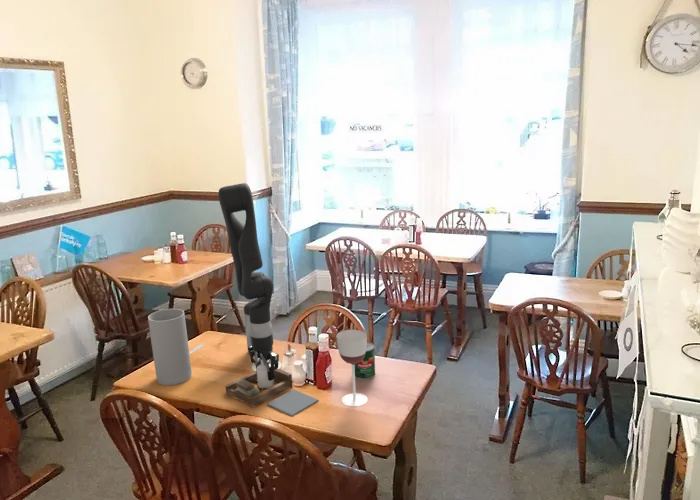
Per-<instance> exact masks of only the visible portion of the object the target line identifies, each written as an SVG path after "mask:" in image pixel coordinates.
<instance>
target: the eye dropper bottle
mask: <svg viewBox="0 0 700 500" xmlns="http://www.w3.org/2000/svg"><path fill="white" fill-rule="evenodd" d="M260 361H261V364H260V365H258V366H257V380H258V381H257V388H258V389H269V388H271V387H273V386H275V382H274V379H273V380H271V381H269V380H268V374H267V371H268V370H267V368H266V365H264V363H263V360H261V359H260ZM268 361H269V360H268ZM268 361H267V362H268ZM269 367H271V365H270V364H269Z"/></svg>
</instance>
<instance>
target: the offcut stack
mask: <svg viewBox="0 0 700 500" xmlns="http://www.w3.org/2000/svg"><path fill="white" fill-rule="evenodd" d="M236 386H237V389H235V390H236V391H238V392H240V393H242V394H244V395H247V396H249V397H253V396H255V395H257V394H259V393H260V388H259V387H258V386H257V387H256V386H255V384H254V383H250V382H248V381H246V380H244V379H243V380H241V381H239V382H236Z"/></svg>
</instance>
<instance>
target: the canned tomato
mask: <svg viewBox="0 0 700 500" xmlns="http://www.w3.org/2000/svg"><path fill="white" fill-rule="evenodd" d="M375 354H376V353H375V344H374V343H373V342H369V341H367V346H366V353H365V357H364V359H363V360H362V361H361V362H359V363H356V364H354V368H355V379H359V380H369V379H372V378H374V377H375V375H376V358H375V357H376V356H375Z"/></svg>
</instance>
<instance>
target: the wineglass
mask: <svg viewBox="0 0 700 500" xmlns="http://www.w3.org/2000/svg"><path fill="white" fill-rule="evenodd" d="M367 342H368V336H367V333H366V332H365V331H362V330H357V329H346V330H345V329H344V330H342V331H339V332H338V333H337V334H336V344H337V348H338V354H339V356H340V358H341V359H342V361H344V362H346V363H347V364H350V365H351V380H352V393H348V394H346V395H344V396H343V397H342V398H341V403H343V405H346V406H348V407H359V406H360V407H361V406H362V405H364V404H366V403H367V402H368V400H369V399H368V397H367V395H365V394H363V393H360V392H359V393H358V392H356V389H357V388H356V377H355V368H354V364H356V363H359V362H361V361H362V360H363V359H364V357H365V353H366V346H367Z"/></svg>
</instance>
